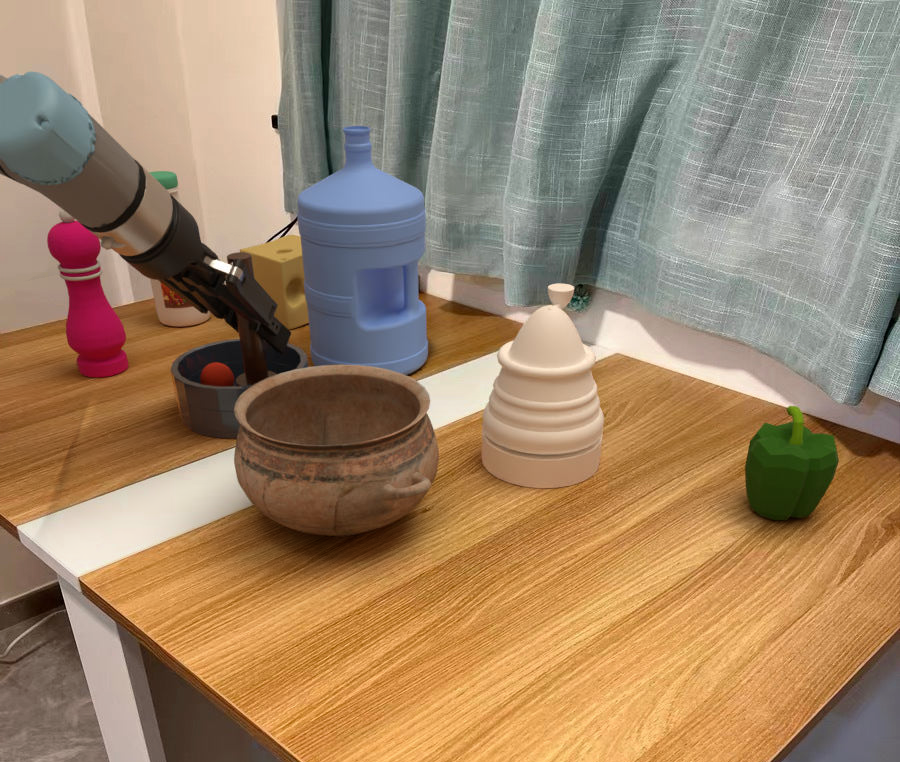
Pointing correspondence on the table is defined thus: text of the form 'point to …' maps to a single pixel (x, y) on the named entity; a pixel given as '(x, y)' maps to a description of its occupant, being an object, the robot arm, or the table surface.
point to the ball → (217, 375)
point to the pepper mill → (87, 300)
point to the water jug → (363, 264)
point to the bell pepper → (789, 468)
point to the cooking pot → (335, 448)
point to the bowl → (215, 405)
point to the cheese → (282, 277)
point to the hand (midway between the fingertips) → (273, 340)
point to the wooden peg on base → (250, 340)
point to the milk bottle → (166, 301)
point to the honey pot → (544, 403)
